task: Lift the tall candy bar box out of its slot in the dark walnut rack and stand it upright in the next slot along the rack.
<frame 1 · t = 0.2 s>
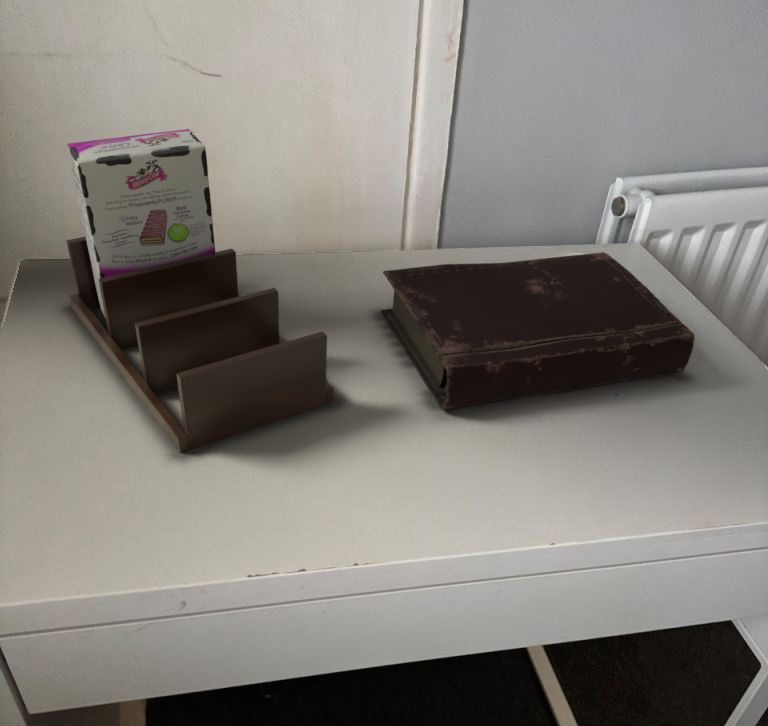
diary: (525, 346, 83), on the table
candy bar box: (160, 313, 83), resting in rack
rack: (195, 352, 78), on the table
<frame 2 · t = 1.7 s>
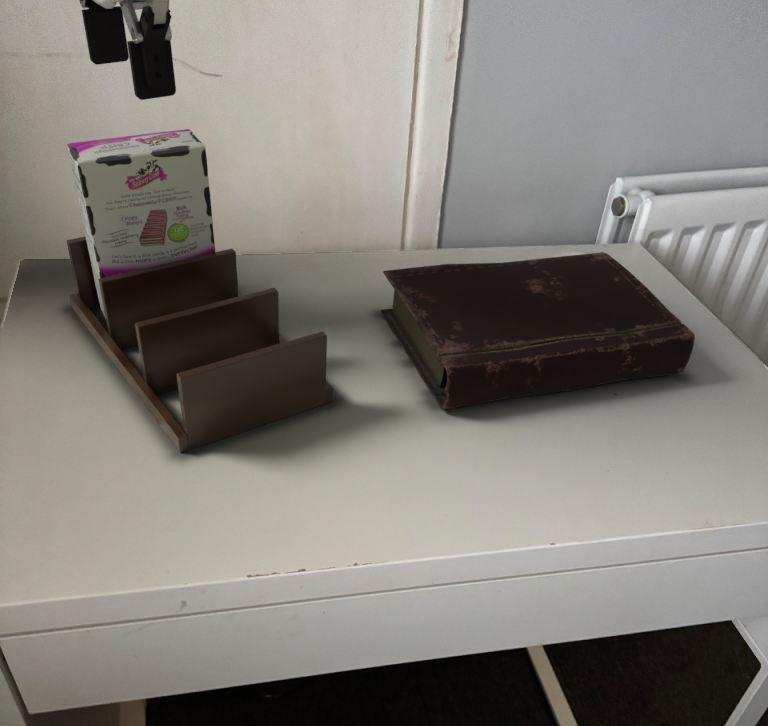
hand: (132, 78, 68), 22 cm above the table, tool pointing down, fingers open, 9 cm apart
nothing on the table moved.
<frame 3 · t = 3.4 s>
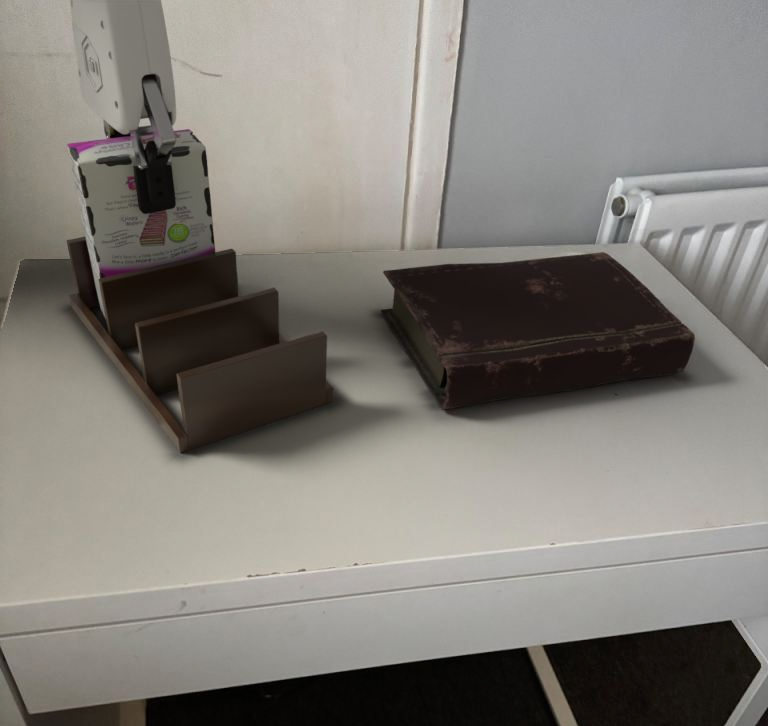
hand: (144, 194, 75), 12 cm above the table, tool pointing down, fingers closed on candy bar box, 5 cm apart
candy bar box: (160, 313, 83), resting in rack, touching gripper
everything else where it was.
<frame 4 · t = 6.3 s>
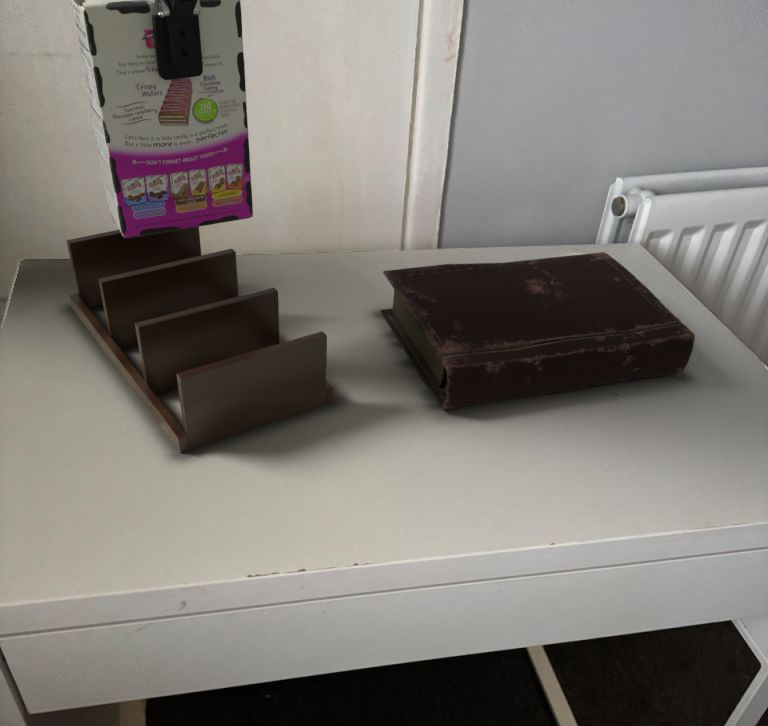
hand: (163, 62, 61), 25 cm above the table, tool pointing down, fingers closed on candy bar box, 5 cm apart
candy bar box: (180, 219, 70), point 13 cm above the table, touching gripper
everything else where it was.
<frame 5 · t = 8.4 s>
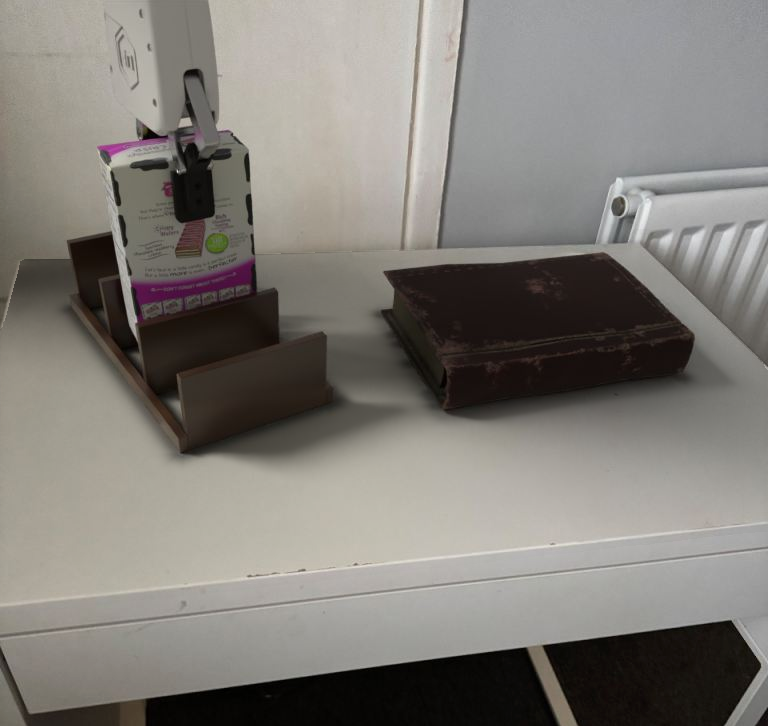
hand: (179, 202, 68), 14 cm above the table, tool pointing down, fingers closed on candy bar box, 5 cm apart
candy bar box: (193, 330, 77), point 2 cm above the table, touching gripper
everything else where it was.
when the fingers open (12 cm above the table, at t = 9.6 s): candy bar box stays where it is, resting in rack.
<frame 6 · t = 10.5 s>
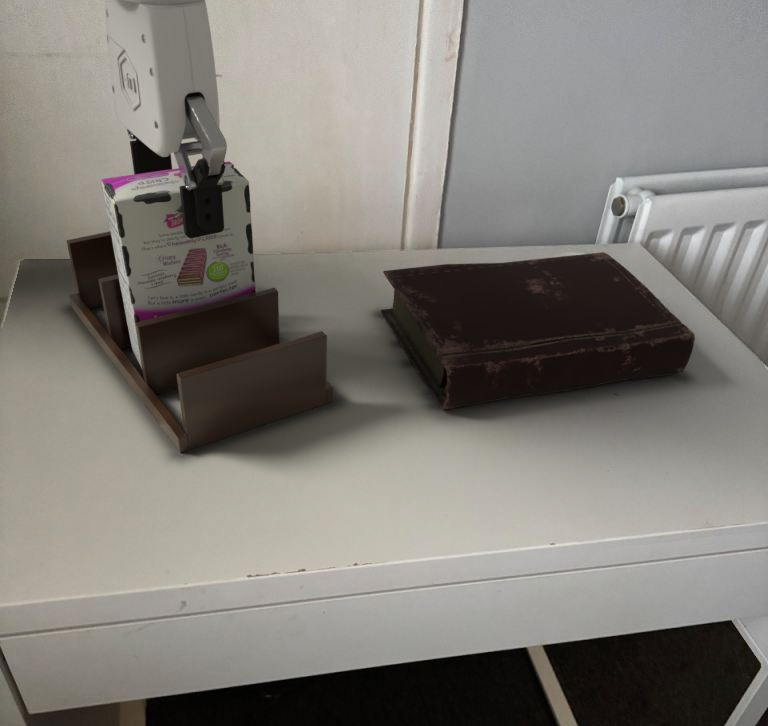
hand: (178, 209, 69), 14 cm above the table, tool pointing down, fingers open, 9 cm apart
candy bar box: (195, 354, 78), resting in rack
everything else where it was.
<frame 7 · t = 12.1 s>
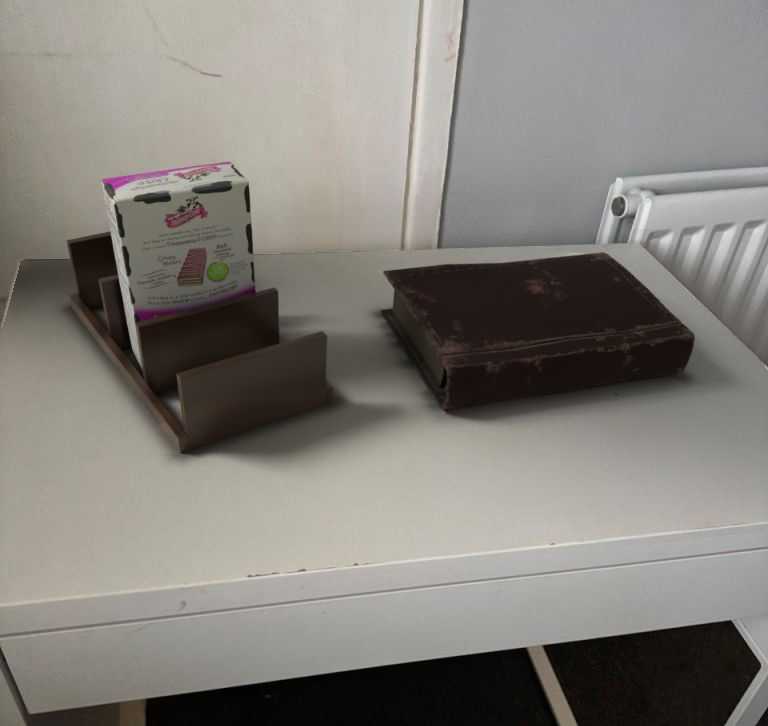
nothing on the table moved.
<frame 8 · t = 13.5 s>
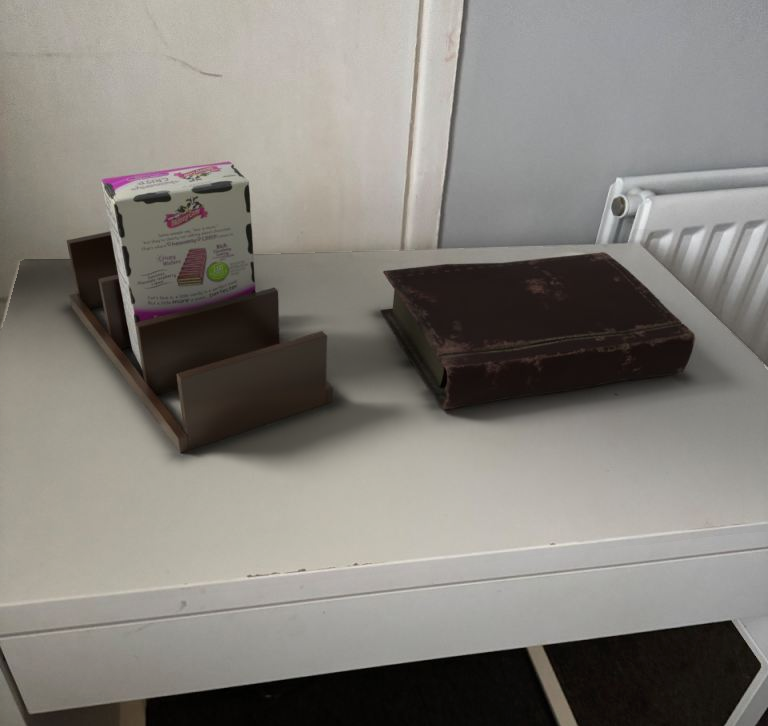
nothing on the table moved.
at the end: candy bar box 0.1 cm from the target spot, resting in rack; candy bar box tilted 0°; the gripper is holding nothing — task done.
